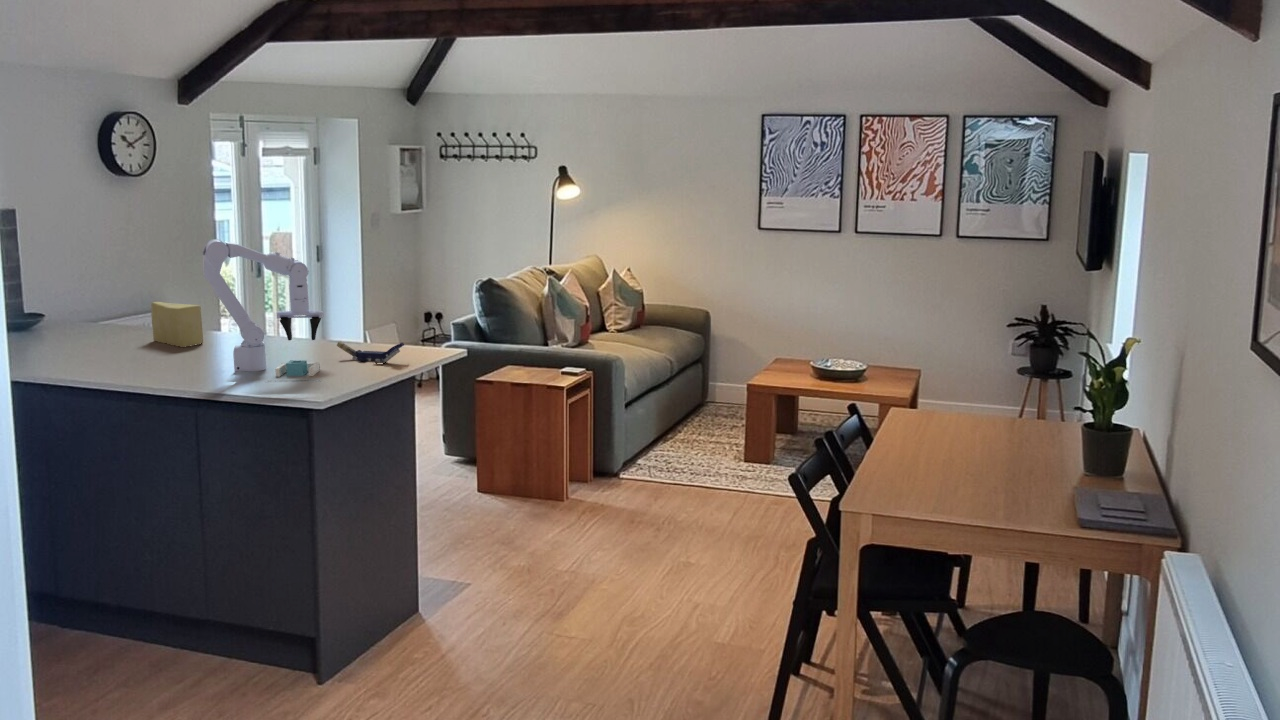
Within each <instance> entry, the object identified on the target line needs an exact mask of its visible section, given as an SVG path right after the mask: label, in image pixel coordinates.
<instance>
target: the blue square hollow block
mask: <svg viewBox="0 0 1280 720" xmlns="http://www.w3.org/2000/svg"><path fill="white" fill-rule="evenodd" d="M285 363H286V368H287V372H286V376H287V377H293V376H294V377H297V376H298V377H302V376H304V375H306V374H308V371H307V363H308V360H307V359H304V360H303V359H300V360H298V359H295V360H289V361H288V362H285Z"/></svg>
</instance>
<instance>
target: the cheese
mask: <svg viewBox="0 0 1280 720" xmlns="http://www.w3.org/2000/svg"><path fill="white" fill-rule="evenodd" d="M150 310H151V324H152V337H153V339H152V340H153V342H155V341H158V342H157V343H159V342H163V343H162V344H164V343H167V344H166V345H169V344H172V345H171V346H174V345H176V346H175V347H178V346H180V347H179V348H182V347H185V346H190V345H195V344H200V343H203V344H204V333H203V321H202V320H203V318H202V309H201V305H198V304H188V303H187V304H186V303H170V302H164V301H154V302H151V304H150ZM185 348H186V347H185Z"/></svg>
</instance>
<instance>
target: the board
mask: <svg viewBox="0 0 1280 720" xmlns="http://www.w3.org/2000/svg"><path fill="white" fill-rule="evenodd" d="M322 381H323V380H322V379H315V380H314V379H313V380H311V379H310V380H309V379H307V380H306V379H305V380H304V379H302V380H301V379H299V380H297V379H296V380H265V381H264V382H265V383H276V382H277V383H282V382H283V383H284V382H285V383H287V382H292V383H295V382H296V383H297V382H322Z"/></svg>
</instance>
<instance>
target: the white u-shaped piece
mask: <svg viewBox="0 0 1280 720" xmlns="http://www.w3.org/2000/svg"><path fill="white" fill-rule="evenodd" d="M286 363H287V362H283V363H281V364H280V365H278V366H277V367H275V377H276V378H277V377H281V376H282V375H284V374H285V373H287V368H286ZM320 368H321V367H320V362H307V372H308V377H313V376H315V375H317V373H319V372H320V371H321V369H320Z"/></svg>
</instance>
